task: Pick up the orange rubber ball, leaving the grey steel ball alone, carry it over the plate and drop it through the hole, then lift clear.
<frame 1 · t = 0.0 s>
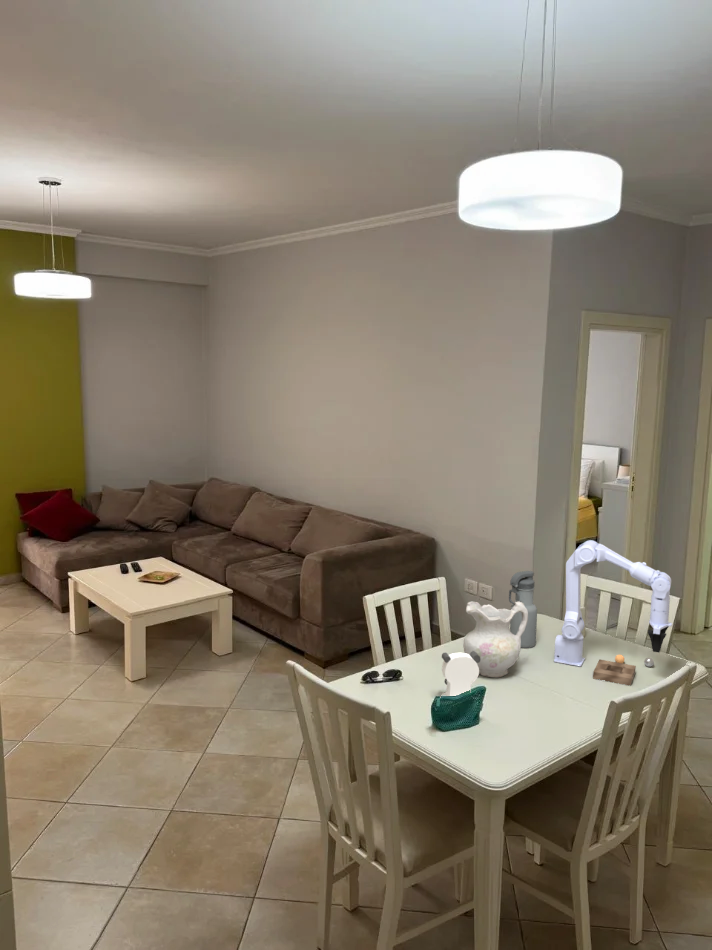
hand: (657, 648, 246), 10 cm above the table, tool pointing down, fingers open, 7 cm apart
skincare box: (574, 636, 285), on the table
ball: (619, 659, 258), point 2 cm above the table
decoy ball: (649, 662, 255), point 2 cm above the table
water bottle: (522, 644, 276), on the table
hole plate: (614, 675, 248), on the table
panda figurine: (459, 699, 229), on the table
ceramic pitcher: (494, 671, 252), on the table
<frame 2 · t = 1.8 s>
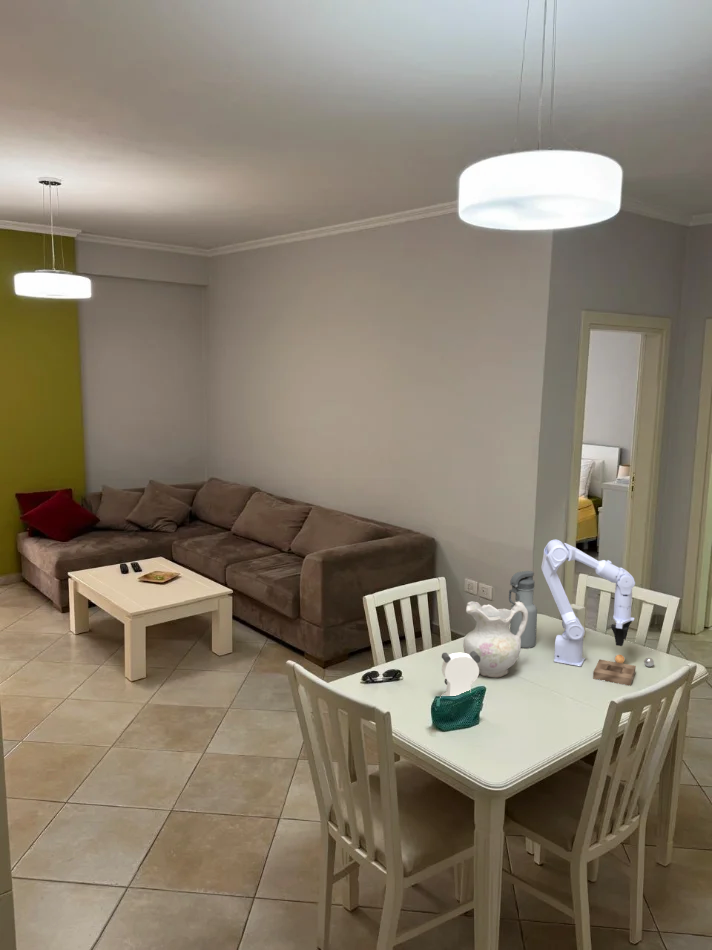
hand: (620, 641, 257), 8 cm above the table, tool pointing down, fingers open, 7 cm apart
nothing on the table moved.
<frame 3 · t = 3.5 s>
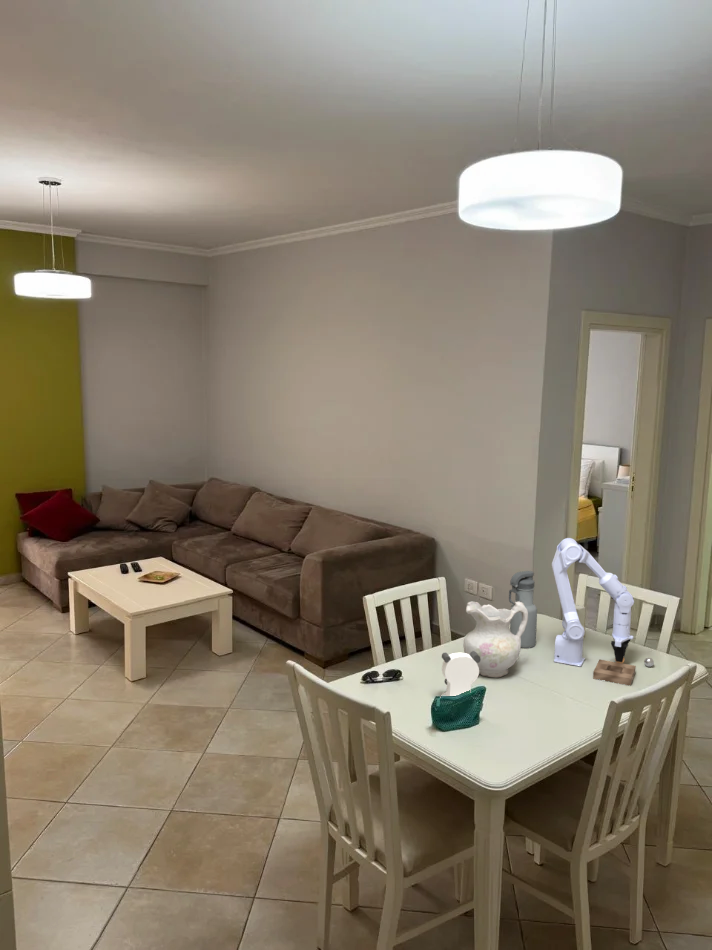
hand: (619, 659, 258), 1 cm above the table, tool pointing down, fingers closed on ball, 3 cm apart
ball: (619, 659, 258), point 2 cm above the table, touching gripper
everything else where it was.
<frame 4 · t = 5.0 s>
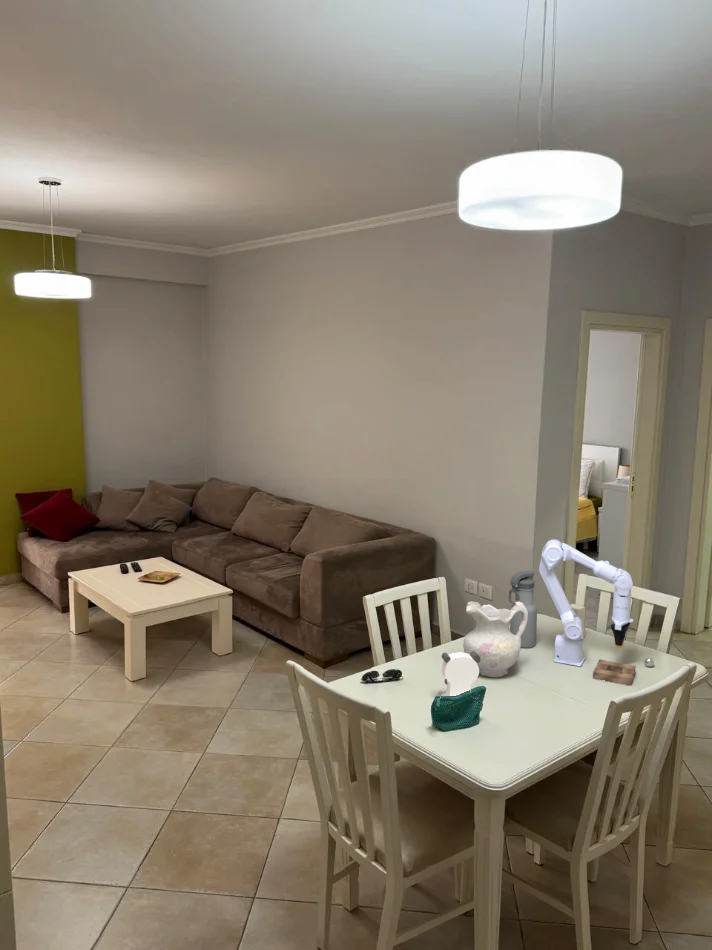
hand: (619, 643, 254), 8 cm above the table, tool pointing down, fingers closed on ball, 3 cm apart
ball: (619, 642, 254), point 9 cm above the table, touching gripper
everything else where it was.
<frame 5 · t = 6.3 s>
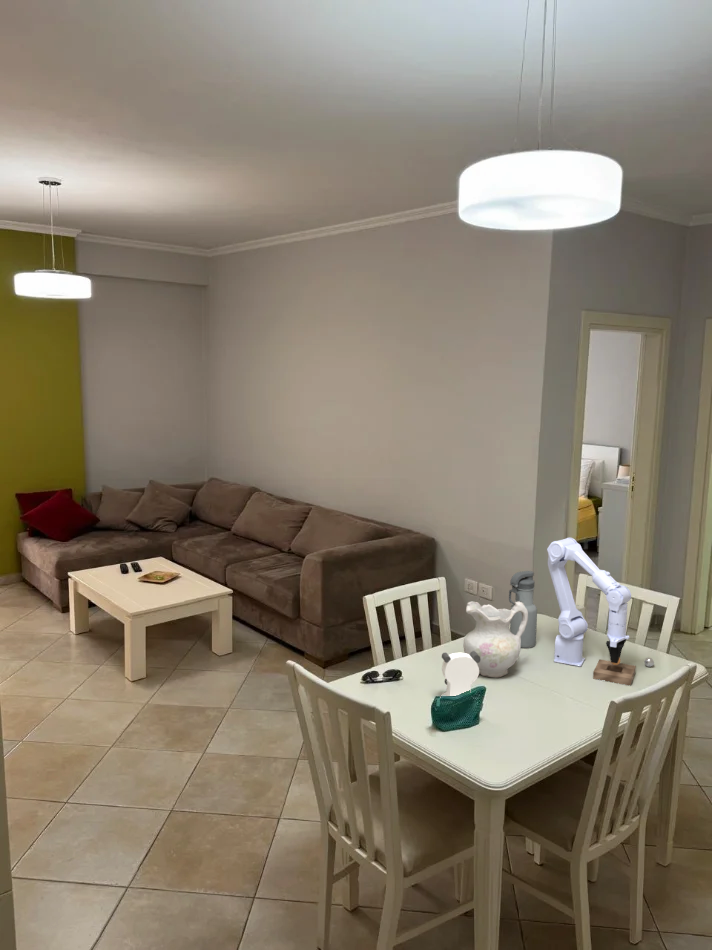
hand: (615, 660, 247), 5 cm above the table, tool pointing down, fingers closed on ball, 3 cm apart
ball: (615, 660, 247), point 6 cm above the table, touching gripper
everything else where it was.
when the fingers open (5 cm above the table, at t = 6.9 s): ball drops 4 cm, point 2 cm above the table.
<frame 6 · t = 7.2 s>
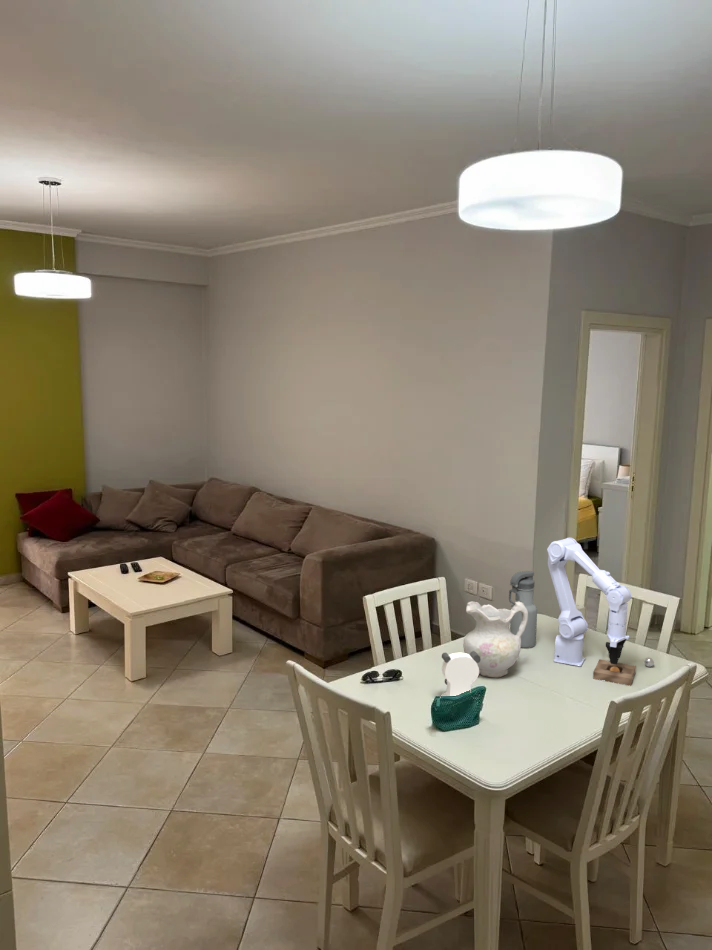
hand: (615, 660, 247), 5 cm above the table, tool pointing down, fingers open, 5 cm apart
ball: (614, 671, 247), point 2 cm above the table
everything else where it was.
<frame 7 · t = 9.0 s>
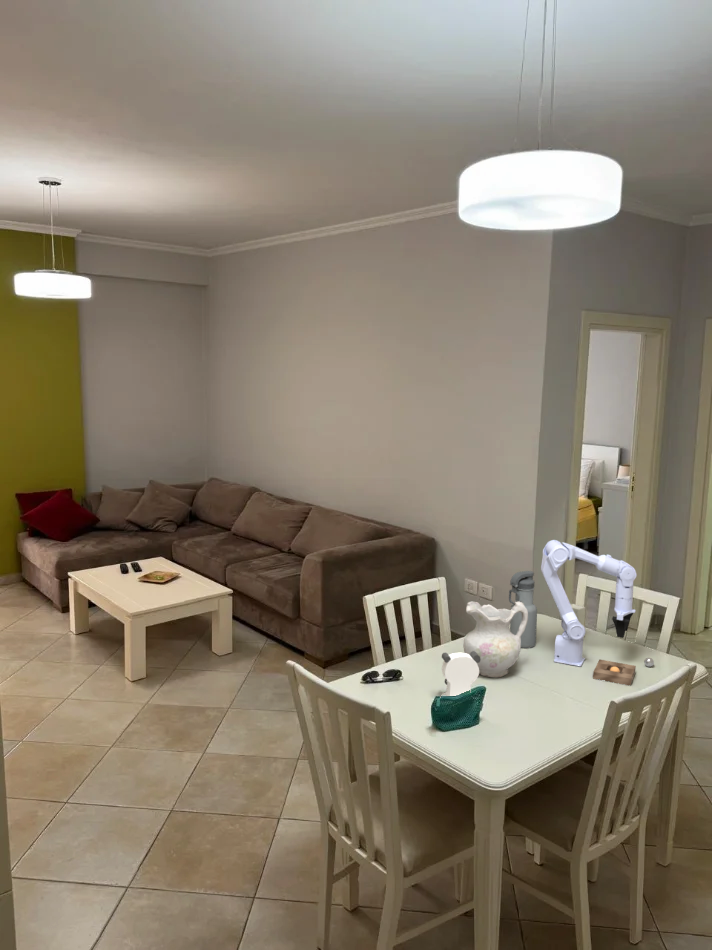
hand: (622, 633, 258), 10 cm above the table, tool pointing down, fingers open, 7 cm apart
nothing on the table moved.
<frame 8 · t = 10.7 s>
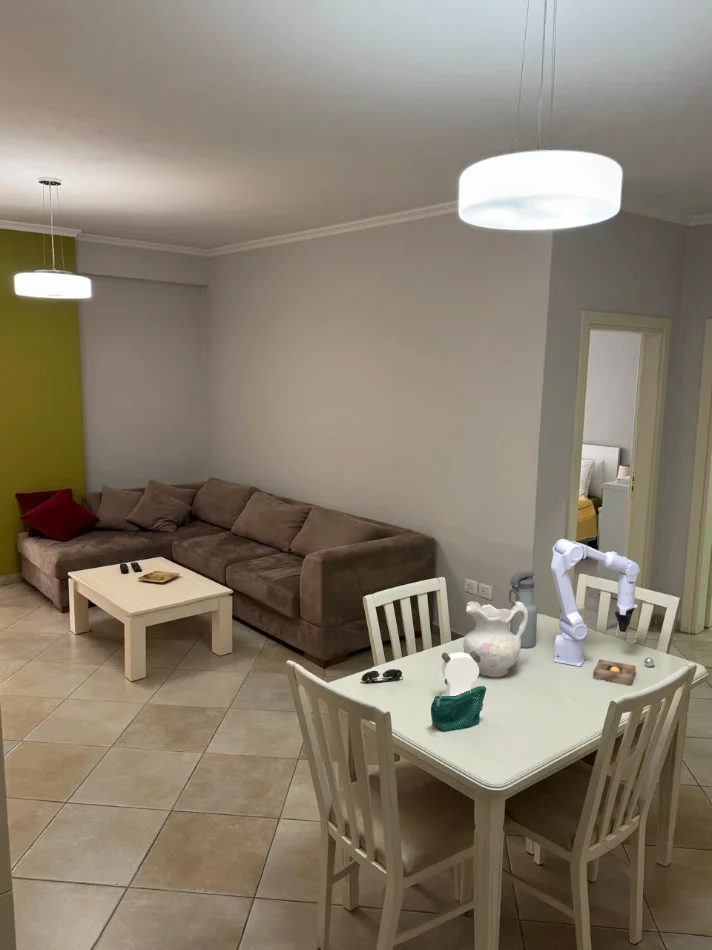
hand: (624, 628, 264), 10 cm above the table, tool pointing down, fingers open, 7 cm apart
nothing on the table moved.
at the end: ball 0.1 cm off-centre on the hole plate, point 1.6 cm above the hole plate's base; ball touching table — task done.
